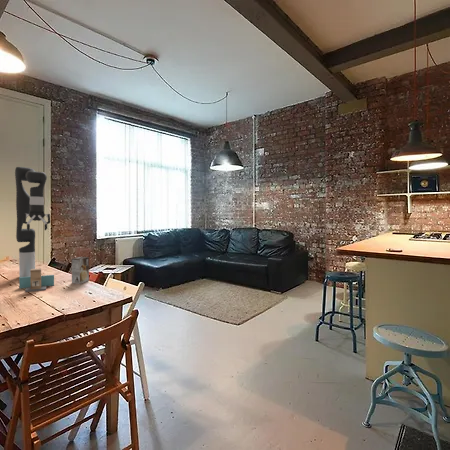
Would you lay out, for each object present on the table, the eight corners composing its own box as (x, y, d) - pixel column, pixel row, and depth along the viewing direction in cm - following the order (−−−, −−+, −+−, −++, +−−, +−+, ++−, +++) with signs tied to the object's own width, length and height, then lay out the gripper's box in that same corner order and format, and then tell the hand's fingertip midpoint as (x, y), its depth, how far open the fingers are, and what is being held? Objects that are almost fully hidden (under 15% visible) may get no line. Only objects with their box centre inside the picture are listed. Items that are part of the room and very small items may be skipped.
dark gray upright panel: (26, 288, 179) (26, 287, 179) (46, 287, 183) (46, 285, 183) (25, 292, 172) (25, 290, 172) (45, 290, 177) (45, 288, 177)
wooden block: (31, 287, 179) (31, 268, 178) (41, 286, 181) (41, 268, 181) (30, 289, 174) (30, 270, 174) (40, 288, 176) (40, 270, 176)
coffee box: (80, 280, 203) (80, 256, 202) (89, 280, 202) (89, 256, 201) (71, 283, 194) (71, 258, 193) (80, 284, 193) (80, 259, 192)
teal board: (19, 288, 180) (19, 277, 180) (54, 285, 189) (54, 274, 188) (19, 288, 179) (19, 277, 179) (54, 285, 188) (54, 275, 187)
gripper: (50, 204, 192) (50, 229, 193) (23, 203, 186) (24, 230, 187) (50, 204, 186) (50, 230, 187) (22, 203, 179) (22, 231, 180)
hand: (37, 230), depth 187 cm, fingers open, 8 cm apart
